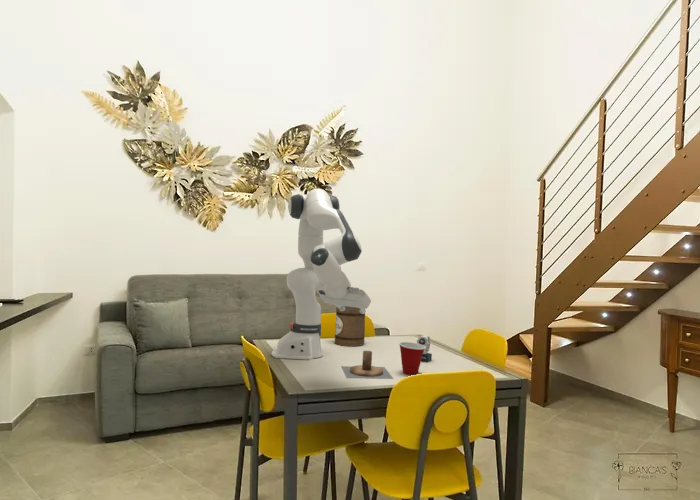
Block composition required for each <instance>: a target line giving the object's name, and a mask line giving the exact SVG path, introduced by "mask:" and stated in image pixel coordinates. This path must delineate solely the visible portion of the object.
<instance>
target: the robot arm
mask: <svg viewBox="0 0 700 500" xmlns="http://www.w3.org/2000/svg"><path fill="white" fill-rule="evenodd" d="M340 206H341V205H340V201H339V199H338V197H337V196H334V195H332V194H328V192H327V191H326V190H324V189H322V188H314V189H312V190H310V191H309V192H308V193H306V194H300V193H298V194H294V195H293V194H292V196H291V197H290V199H289V201H288V204H287V209H288V213H289V215H290V217H291V219H292V218H293V219H295V220H299V223H298V224H299V225H298V233H297V234H298V237H297V239H298V240H297V244H298V245H297V253H298V255H299V257H300V258H301V259H302V261H303V264H304V267H298V268H295V269H293V270H291V271H290V272H288V273H287V276H286V286H287V288H288V290H290V291H291V293H292V295H293V298H294V301H295V322H290V323H289V327H290V331H289V332H287V333H286V334H284V335H283V336H282V337H280V338H279V340H278V342H277V345H276V348H274V349H273V350H272V351H271V356H272V357H273V358H276V359H292V360H293V359H294V360H306V361H307V360H308V361H309V360H312V359H317V358H320V357H323V355H324V354H323V351H322V345H321V335H322V323H321V321H322V318H321V317H322V305H321V304H320V303H319V302H318V300H317V296H316V293H317V294H319V297H320V299H322V301H323V302H324V303H325V304H326V305H334V306H335V307H337V308H339V309H340V311H345V309H346V308H345V306H349V307H357V308H360V310H359V312H360V313H361V314H365V315H366V310H367V309H368V308H369V306H370V304H371V303H372V300H371V298H370V297H369V295H368V294H367V293H366V291H365V290H364V289H362V288H360V287H354V286H352V285H351V282H350V280H349V279H348V277H347V276H346V275H347V274H346V273H345V272H344V271H342V267H341V265H344V264H346V263H349V262H352V261H353V262H354V261H356V260H358V259H359V257H360V256H361V254H362V245H361V242H360V240H359V239H358V237H356V235H355V234H354V231H352V227H351V226H350V225H349V223H348V220H347V218H346V217H345V215H344V214H343V212H342V211H341V210H340V209H341V207H340ZM333 229H338V230H339V231H340V233H341V235H339V236H338V237H336V238H334V239H331V240H329V241H326V242H324V231H328V230H333Z"/></svg>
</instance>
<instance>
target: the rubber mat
mask: <svg viewBox="0 0 700 500" xmlns="http://www.w3.org/2000/svg"><path fill="white" fill-rule="evenodd" d="M352 366H353V365H352ZM352 366H351V365H350V366H343V365H342V366H341V369H342V371H343V373H344V375H345V378H346V379H368V380H369V379H372V380H375V379H377V380H378V379H380V380H385V379H386V380H389V379H390V380H394V377H393V376H392V375H391V374H390V372H389V371H388V370H387V368H386V367H385V366H378V367H379V368H381V369H383V374H382V375H380V376H374V377H367V376H359V375H355V374H352V373H351V372H350V368H351V367H352Z"/></svg>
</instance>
